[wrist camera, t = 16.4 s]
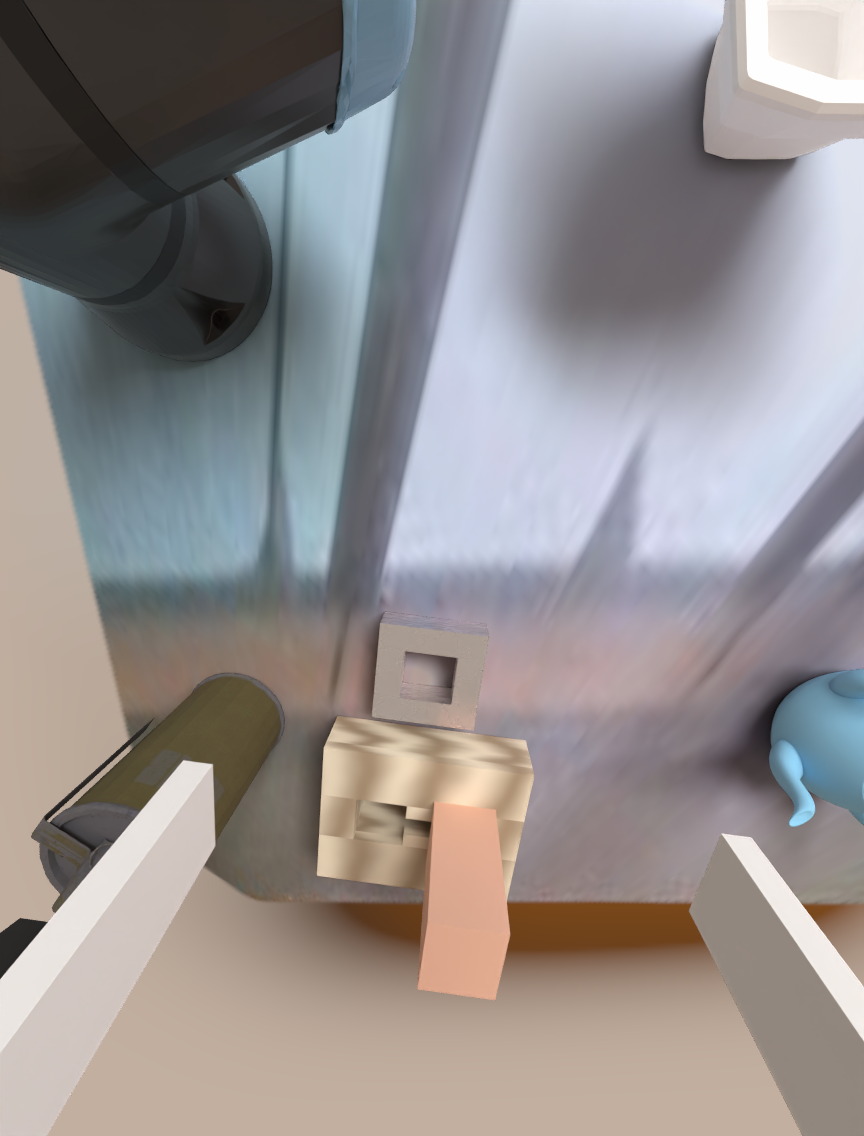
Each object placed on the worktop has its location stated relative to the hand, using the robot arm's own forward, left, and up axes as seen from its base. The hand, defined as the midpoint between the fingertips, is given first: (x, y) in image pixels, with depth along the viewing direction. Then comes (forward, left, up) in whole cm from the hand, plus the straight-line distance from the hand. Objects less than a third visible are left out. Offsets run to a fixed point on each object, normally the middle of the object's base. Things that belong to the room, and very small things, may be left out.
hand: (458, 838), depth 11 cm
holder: (-1, -11, -30) cm, 32 cm away
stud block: (+4, -27, -28) cm, 39 cm away
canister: (-21, -20, -30) cm, 42 cm away
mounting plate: (0, -27, -30) cm, 40 cm away
